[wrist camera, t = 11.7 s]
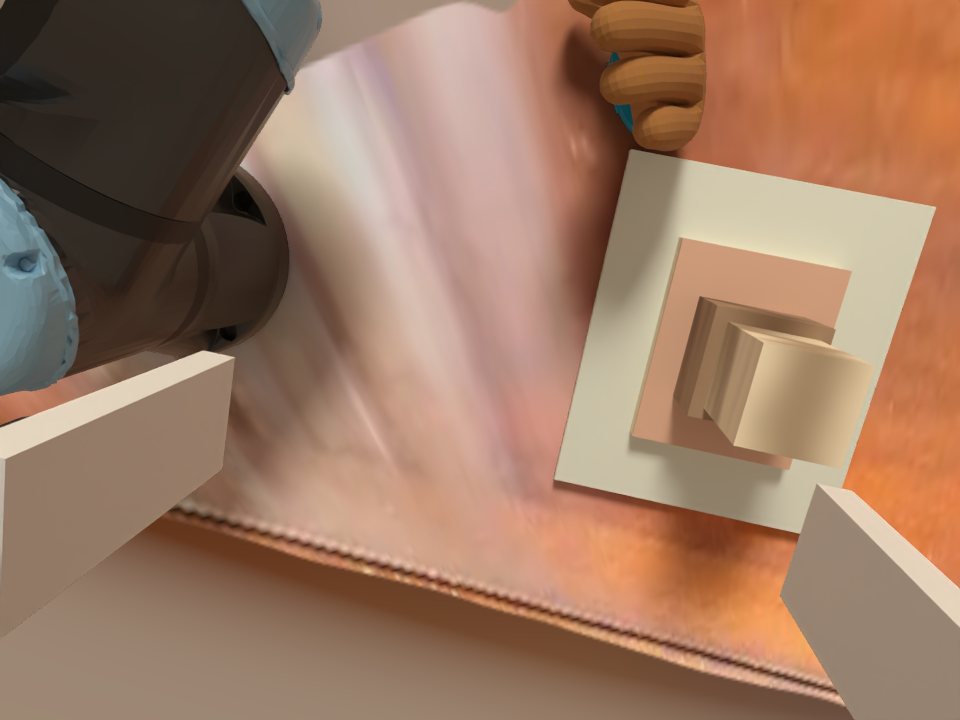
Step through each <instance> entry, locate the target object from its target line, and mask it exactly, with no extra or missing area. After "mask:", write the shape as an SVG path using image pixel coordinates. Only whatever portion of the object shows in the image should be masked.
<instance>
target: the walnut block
mask: <svg viewBox="0 0 960 720" xmlns="http://www.w3.org/2000/svg"><path fill="white" fill-rule="evenodd" d="M728 322H733V323H737V324H742V325H747V326H752V327H757V328H761V329H766V330H771V331H776V332H781V333H786V334H790V335H795V336H800V337H805V338H810V339H815V340H819V341H822V342H825V343H827V344H829V345H831V343H832V340H833V337H834V334H835V331H836V329H833V328H831V327H828V326H826V325H823V324H821V323H818V322H816V321H813V320H811V319H808V318H806V317H801V316H796V315H791V314H787V313H782V312H777V311H772V310H767V309H762V308H757V307H752V306H747V305H742V304H737V303H732V302H727V301H722V300H717V299H712V298H707V297H702V296H699V300H698V304H697V308H696V311H695V315H694V319H693V323H692V326H691V330H690V334H689V338H688V341H687V345H686V349H685V353H684V356H683V360H682V364H681V368H680V371H679V375H678V379H677V383H676V386H675V390H674V394H673V396H674V397H675V399H676V400H677V402H678V403H679V404H680V406H681V407H682V409H683V410H684V412H685V413H686V415H687V416H691V417H695V418H700V419H705V420H709V421H714V420H713V419H712V418H711V417H710V415H709V414H708V413H707V412H706V410H705V409H704V406H705V402H706V399H707V395H708V392H709V388H710V384H711V381H712V377H713V374H714V370H715V367H716V363H717V360H718V356H719V353H720V349H721V346H722V342H723V338H724V335H725V331H726V328H727V324H728Z"/></svg>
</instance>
